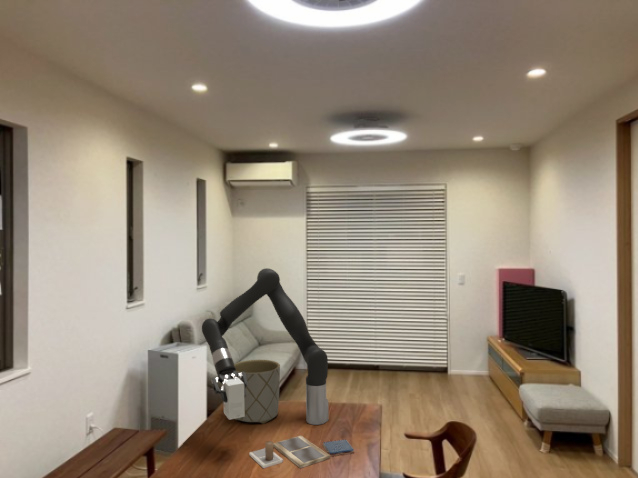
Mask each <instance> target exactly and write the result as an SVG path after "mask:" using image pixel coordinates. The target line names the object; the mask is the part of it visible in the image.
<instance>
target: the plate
mask: <svg viewBox="0 0 638 478" xmlns="http://www.w3.org/2000/svg"><path fill="white" fill-rule="evenodd" d="M273 443H274V441H271V440H268V441H266V442H264V448H262V449H258V450H253V451H250V452H249V453H248V454H249V456H250V458H252V459H253V461H254V462H256V463H257V464H258V465H259V466H260V467H261V468H262V469H266V468H268V467H269V468H270V467H272V466H276V465H279V464H282V463H283V462H284V459H283V458H282V457H280V456H279V455H278V454H277V453H276V452H274V447H273Z"/></svg>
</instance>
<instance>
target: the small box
mask: <svg viewBox="0 0 638 478" xmlns="http://www.w3.org/2000/svg"><path fill="white" fill-rule="evenodd" d="M224 383H225V390H224V391H225V392H226V395H227V399H228V401H227V402H226V403H225V402H223V413H224V415H225V416H226V418H227V419H228V420H235V419H236V418H241V417H245V408H244V383H243V382H242V381H241V380H240V379H239V378H238V379H230V380H227V381H225V382H224Z"/></svg>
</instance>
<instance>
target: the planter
mask: <svg viewBox="0 0 638 478" xmlns="http://www.w3.org/2000/svg"><path fill="white" fill-rule="evenodd" d="M234 365H235V368H236V371H237V372H238V373H242V372H243V371H244V372H245V374H246V378H247V382H248V385H247V387H246V388H245V391H246V397H245V398H244V408H245V417H241V418H236V419H234V420H235V421H241V422H246V423H260V424H266V423H268V422H269V421H272V420H273V419H274V418H275V417H277V415H278V413H279V401H280V400H279V399H280V380H281V379H280V378H281V364H280V363H279V362H277V361H274V360H272V359H271V360H269V359H250V360H249V359H248V360H243V361H239V362H236V363H234ZM238 378H239V379H240V377H238ZM240 380H241V379H240ZM241 381H242V380H241Z"/></svg>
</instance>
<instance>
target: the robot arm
mask: <svg viewBox="0 0 638 478" xmlns="http://www.w3.org/2000/svg"><path fill="white" fill-rule="evenodd" d="M280 281H281V279H280V276H279V273H278V272H277V271H275V270H273V269H271V268H263V269H261V270H260V271H258V273H257V277H256V281H255V282H254V283H253V285H252V286H251V287H249V289H247V290H246V291H245V292H243V293H242V294H240V295H238V296H237V297H236V298H235V299H233V300H232V301H231V302H230V303H228V304H227V305H226V306H225V307H224V308H223V309H222V310H221V311H220V312H219V315H220V316H219V317H220V318H219V319H218V321H217V320H215V318H206V319H205V320H204V321H203V322H202V324H201V333H202V334H203V337H204V339H205V341H206V343H207V345H208V347H209V350H210V354H211V357H212V358H211V359H212V362H213V366H214V369H215V372H216V375H217V376H216V377H215V376H213V377H212V378H211V380H210V383H211V386H212V389H213V392H214V393H215V394H216V395H217V394H219V395H220V397H221V400H222V402H223V403H224V402H225V403H226V402H227V401H228V399H227V395H226V392H225V391H224V390H225V383H224V382H225V381H227V380H230V379H238V377H240V379H241V380H242V382H243V383H244V398H245V397H246V391H245V388H246V387H247V385H248V382H247V378H246V374H245V372H244V371H243V372H242V373H238V372H237V371H236V368H235V365H234V364H235V362H234V360H233V356H232V354H231V351H230V349H229V348H228V347H229V345H228V344H227V341H226V340H225V338H224V337H223V336H224V335H225V334H226V333H227V331H228V330H229V328H230V326H232V323H234V322H235V321H236V320H237V319H238V318H239V317H240V316H241V315H243V314H244V313H245V312H246V311H248V309H250V307H251V306H253V305H254V304H255V303H256V302H257V301H259V300H260V299H262V298H263V297H264V296H267V297H268V298H269V300H270V302H271V304H272V306H273V307H274V310H275V312H276V314H277V316H278V318H279V319H280V322H281V323H282V325H283V327H284V328H285V330H286V331H287V333H288V334H289V335H290V337H291V338H292V339H293V341H294V342H295V344H296V345H297V347H298V349H299V351H300V353H301V355H302V358H303V361H304V362H305V363H306V365H307V375H306V377H305V411H306V412H305V413H306V415H305V417H306V419H305V420H306V423H308V424H310V425H316V426H317V425H318V426H319V425H323V424H325V423H327V422H328V421H329V399H328V398H327V378H328V374H329V373H328V369H329V368H328V367H329V365H328V364H329V363H328V362H329V359H328V355H327V353H326V351H324V349H322V348H320V346H318V344H317V343H316V342H315V341H314V339H313V337H312V336H311V334H310V331H309V329H308V326H307V322H306V321H305V318H304V317H303V315H302V314H301V312H300V310H299V308H298V307H297V305H296V304H295V303H294V301H293V300H292V299H291V298H290V296H289V295H288V294H287V293H286V292H285V289H284V288H283V286H282V284H281V282H280ZM218 382H219V383H220V384H221V387H219V384H218Z"/></svg>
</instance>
